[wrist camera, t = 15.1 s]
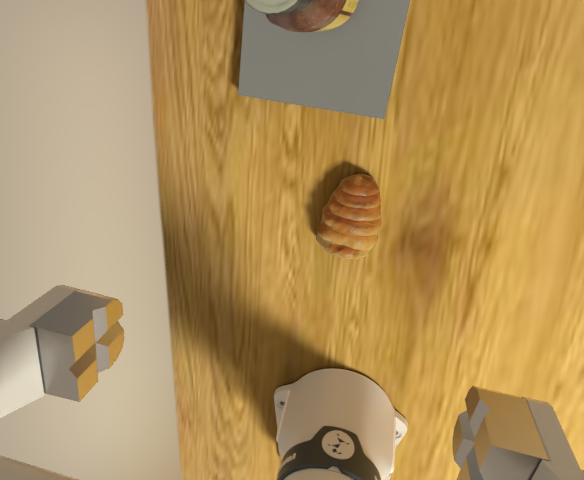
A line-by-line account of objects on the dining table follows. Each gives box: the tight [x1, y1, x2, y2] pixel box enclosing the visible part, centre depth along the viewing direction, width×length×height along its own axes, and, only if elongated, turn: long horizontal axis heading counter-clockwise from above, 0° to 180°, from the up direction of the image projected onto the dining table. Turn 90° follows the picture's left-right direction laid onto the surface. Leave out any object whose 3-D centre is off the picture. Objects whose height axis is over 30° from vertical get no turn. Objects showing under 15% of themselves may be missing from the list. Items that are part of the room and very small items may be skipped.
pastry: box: [316, 174, 381, 259], centre depth 47 cm, size 9×7×4 cm
